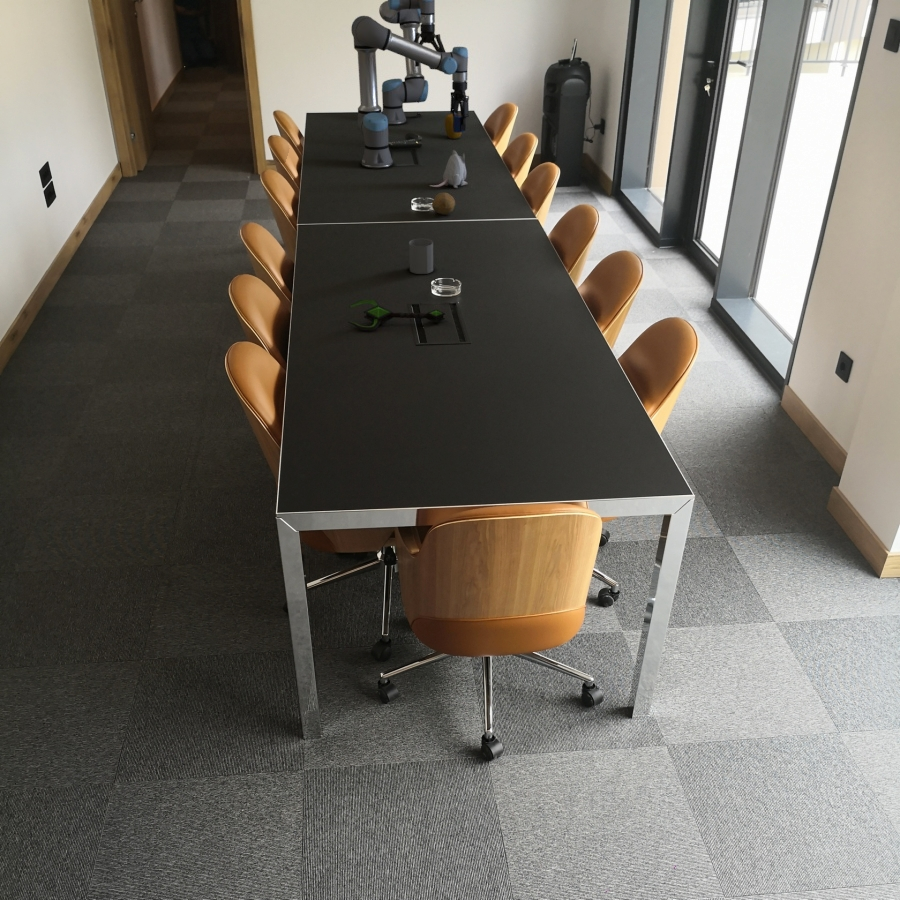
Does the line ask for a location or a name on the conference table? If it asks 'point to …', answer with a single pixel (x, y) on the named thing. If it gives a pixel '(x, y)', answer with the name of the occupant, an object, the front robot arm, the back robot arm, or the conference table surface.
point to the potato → (443, 203)
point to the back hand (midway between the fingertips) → (428, 67)
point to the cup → (421, 256)
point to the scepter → (391, 315)
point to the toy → (454, 171)
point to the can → (456, 124)
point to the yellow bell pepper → (451, 127)
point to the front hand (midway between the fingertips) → (459, 129)
